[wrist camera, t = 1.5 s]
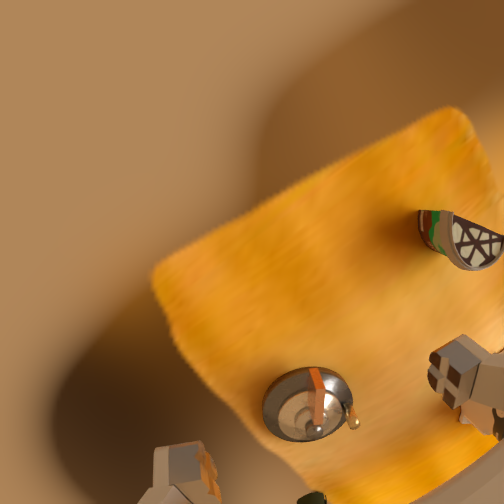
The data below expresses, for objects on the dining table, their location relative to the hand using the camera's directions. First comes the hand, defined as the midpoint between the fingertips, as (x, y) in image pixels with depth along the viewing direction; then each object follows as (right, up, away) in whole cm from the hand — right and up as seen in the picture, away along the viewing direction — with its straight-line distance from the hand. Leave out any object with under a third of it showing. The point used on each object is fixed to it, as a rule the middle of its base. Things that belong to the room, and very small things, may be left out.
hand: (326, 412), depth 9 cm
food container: (+25, +7, +33) cm, 42 cm away
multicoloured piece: (+6, -17, +34) cm, 39 cm away
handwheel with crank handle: (+6, -19, +37) cm, 42 cm away
